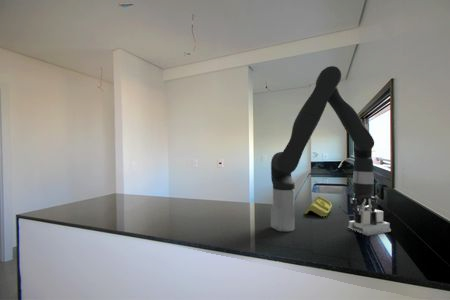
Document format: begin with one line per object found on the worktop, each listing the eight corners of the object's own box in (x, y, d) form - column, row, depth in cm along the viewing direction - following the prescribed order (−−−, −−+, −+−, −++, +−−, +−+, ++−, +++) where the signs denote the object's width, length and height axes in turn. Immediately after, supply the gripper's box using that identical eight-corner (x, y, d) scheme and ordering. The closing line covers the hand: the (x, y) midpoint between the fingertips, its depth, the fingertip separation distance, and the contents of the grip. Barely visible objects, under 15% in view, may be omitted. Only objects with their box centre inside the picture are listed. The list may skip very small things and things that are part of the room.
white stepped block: (367, 235, 92) (367, 215, 92) (347, 228, 100) (348, 210, 100) (390, 231, 97) (390, 212, 97) (370, 225, 105) (370, 207, 105)
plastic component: (327, 213, 116) (309, 203, 120) (321, 225, 118) (303, 214, 122) (333, 203, 132) (316, 194, 137) (327, 214, 134) (311, 204, 139)
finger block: (363, 229, 95) (363, 212, 95) (354, 226, 98) (354, 209, 98) (370, 227, 96) (371, 211, 96) (361, 225, 100) (362, 208, 100)
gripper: (359, 184, 91) (358, 226, 91) (383, 182, 96) (383, 223, 96) (343, 181, 98) (342, 221, 98) (366, 180, 103) (366, 218, 103)
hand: (362, 222), depth 97 cm, fingers open, 5 cm apart
